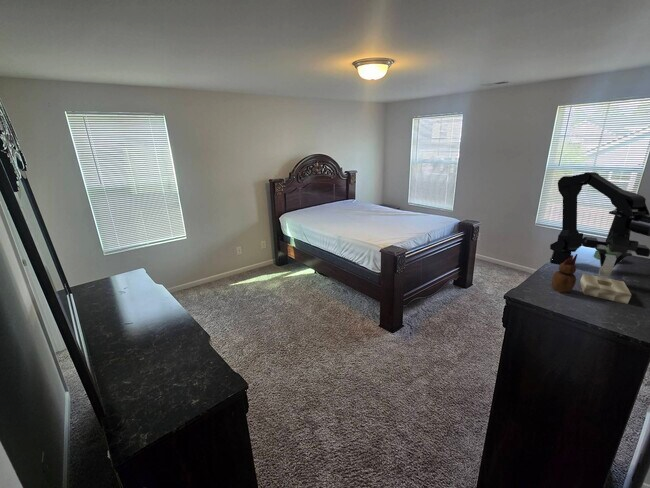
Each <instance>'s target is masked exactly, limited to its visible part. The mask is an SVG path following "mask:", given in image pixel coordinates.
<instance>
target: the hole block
mask: <svg viewBox="0 0 650 488" xmlns="http://www.w3.org/2000/svg"><path fill="white" fill-rule="evenodd" d="M579 283H580V286H581V289H582V293H583V295H586V296H590V297H595V298H600V299H604V300H609V301H613V302H617V303H621V304H627V305H628V304H629V301H630V300H631V298H632V293H631V292H630V289H629V288H628V287H627V285H626V283H625V281H623V280H617V279H612V278H609V277H604V276H599V275H598V276H597V275H592V274H587V273H582V276H581V278H580V282H579Z"/></svg>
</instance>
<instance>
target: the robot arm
mask: <svg viewBox="0 0 650 488" xmlns="http://www.w3.org/2000/svg"><path fill="white" fill-rule="evenodd" d="M586 185H589V186H590V187H592V188H593V189H595V190H597V191H598V193H601V194H602V195H604V196H605V197H607V198H608V199H609V200H610V202H611V204H612V206H614V207H615V209H613V210H611V211H608V214H609V215H613V216H614V217H613V219H612V222H611V225H610V228H609V231H608V234H607V237H606V238H605V241H603V240H602V241H601V240H598V238H596V237H590V236H584V233H583V232H579V231H578V196H579V195H580V193H581V192H582V190H583V186H586ZM557 188H558V192H559V194H560V195H561V197H562V228H561V231H560V232H559V234H558V235H557V239H556V241H555V242H552V243H551V244H550V245H549V249H550V250H552V254H551V257H550V258H549V261H550V262H549V263H550V264H553V265H558V266H560V264H561V263H563V262H565V260H568V258H571V256H572V253H575V252H577V250H578V249H579V248H581V247H582V246H583V247H586V248H592V249H594V248H595V251H599V255H600V260H599V263H600V265H599V266H602V265H603V263H604V258H605V254H606V252H607V251H606V247H609V248H610V249H609V250H610V251H612V252H617V254H616V258H617V259H616V261H615V264H614V267H613V269H614V268H615V267H616V266H617V265H618V264H620V263H619V262H620V261H621V260H622V261H623V260H624V259H625V258H626V257H632V256H633V254H632V253H633V252H634V253H635V254H636V255H637V256H641V257H650V248H649V247H648V246H647V244H646V245H645V244H639V241H638V240H631V239H630V237H631V232H633V233H635V234H638V235H639V234H640V235H642V236H646V237H650V211H649V209H648V207H647V203H646V201H647V198H645V197H644V196H643V195H641V194H638V193H635V192H633V191H629V190H625V189H622V188H621V187H619V186H617V184H614V183H613V182H611V181H610V180H608V179H606V178H605V177H603V176H602V175H600V174H599V173H598V172H596V171H594V172H592V171H591V172H590V171H589V172H585V173H580V174H576V175H564V176H562V177H560V178H559V179H558V181H557ZM552 259H553V260H552Z"/></svg>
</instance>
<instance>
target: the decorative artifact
mask: <svg viewBox="0 0 650 488" xmlns="http://www.w3.org/2000/svg"><path fill="white" fill-rule="evenodd" d="M609 249H610V248H609V247H606V251H607V252H606V254H608V255H614V256H616V254H617V252H612V251H610V250H609ZM593 254H594V255H593V258H595V259H597V260H599V261H600V255H599V251H597V250H595V251H594V253H593Z"/></svg>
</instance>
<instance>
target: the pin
mask: <svg viewBox="0 0 650 488" xmlns="http://www.w3.org/2000/svg"><path fill="white" fill-rule="evenodd" d="M616 259H617V258H616V256H614V255H608V254H605V258H604V263H603V265H602V266H601V265H599V270H598V276H601V277H606V278H610V277H611V274H612V272H613V269H614V268H615V267H614V264H615V261H616ZM613 267H614V268H613Z"/></svg>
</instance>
